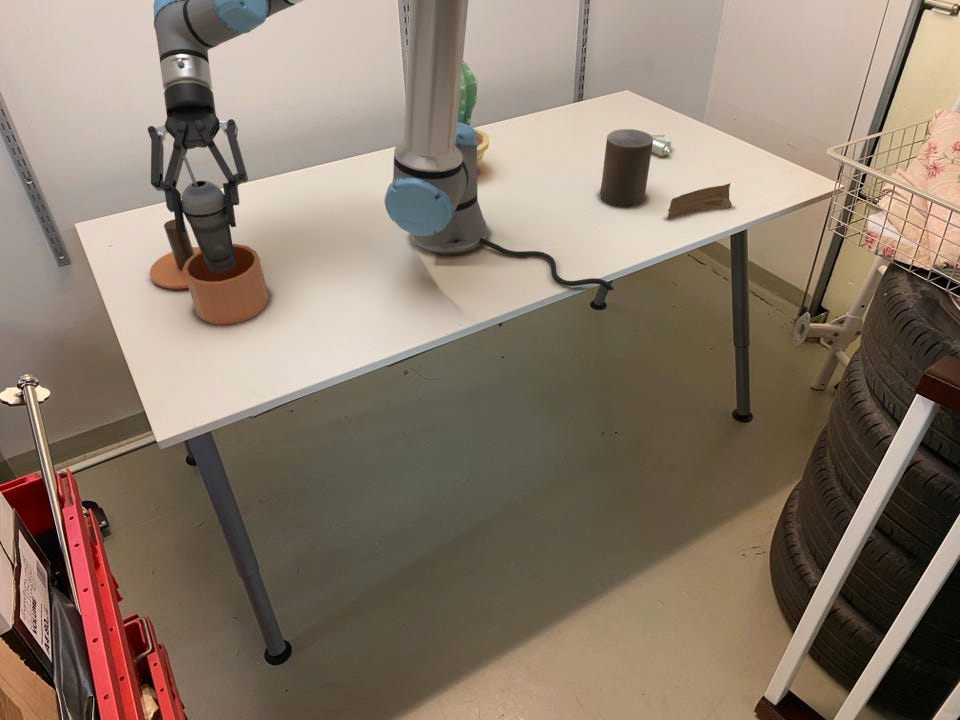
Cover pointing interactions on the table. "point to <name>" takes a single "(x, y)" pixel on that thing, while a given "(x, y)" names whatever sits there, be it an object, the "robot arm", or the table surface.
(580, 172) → the table surface
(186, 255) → the lid
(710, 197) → the wood plank
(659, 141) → the pipe fitting
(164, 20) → the robot arm
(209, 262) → the beverage cup
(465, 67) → the potted cactus
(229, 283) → the canister
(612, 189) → the pillar candle
